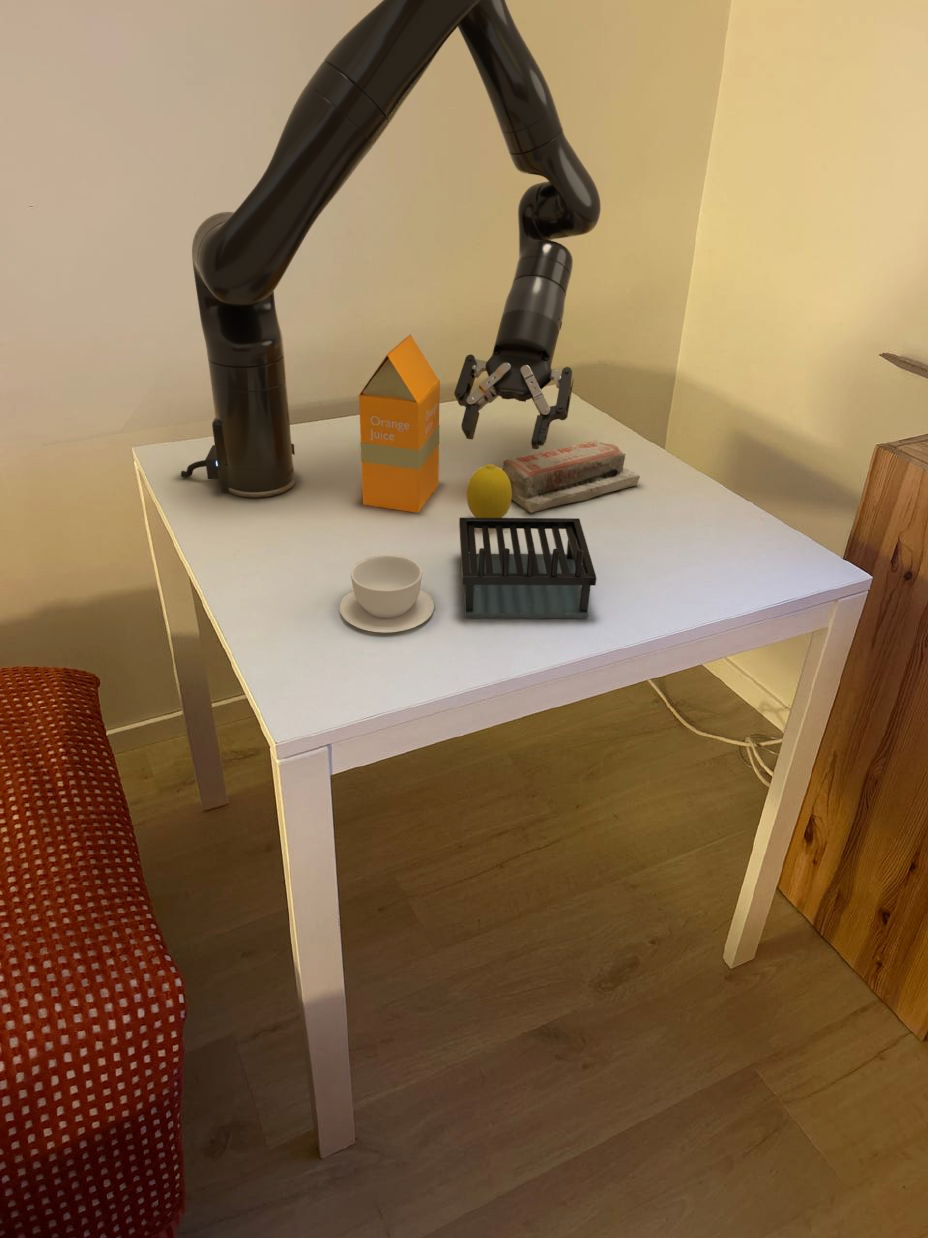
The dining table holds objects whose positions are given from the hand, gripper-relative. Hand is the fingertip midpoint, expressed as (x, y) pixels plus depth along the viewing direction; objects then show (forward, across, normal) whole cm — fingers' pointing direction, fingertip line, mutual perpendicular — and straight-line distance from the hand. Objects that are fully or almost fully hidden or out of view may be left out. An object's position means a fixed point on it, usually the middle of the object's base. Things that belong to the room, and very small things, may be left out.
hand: (501, 441), depth 114 cm
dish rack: (+19, +8, -6) cm, 21 cm away
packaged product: (0, +7, +13) cm, 15 cm away
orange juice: (+7, -13, +6) cm, 16 cm away
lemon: (+10, 0, +3) cm, 10 cm away
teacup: (+26, -4, -13) cm, 29 cm away
